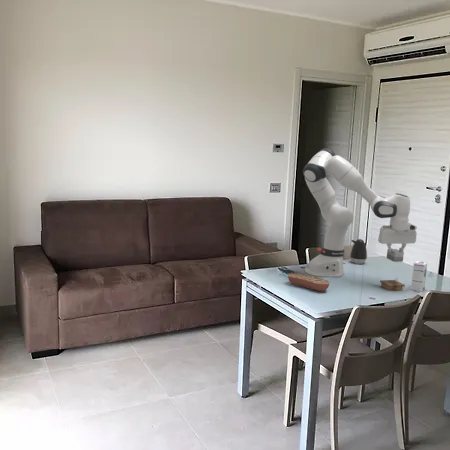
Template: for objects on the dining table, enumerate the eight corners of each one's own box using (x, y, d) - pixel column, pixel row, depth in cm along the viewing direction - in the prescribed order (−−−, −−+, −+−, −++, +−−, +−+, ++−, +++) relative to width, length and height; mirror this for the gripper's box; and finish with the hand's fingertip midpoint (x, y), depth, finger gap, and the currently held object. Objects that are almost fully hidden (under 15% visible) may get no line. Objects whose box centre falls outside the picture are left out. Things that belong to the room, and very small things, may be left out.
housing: (394, 261, 255) (395, 252, 254) (386, 258, 261) (387, 248, 260) (402, 261, 256) (403, 252, 255) (394, 258, 263) (396, 248, 262)
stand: (388, 291, 256) (389, 285, 255) (379, 285, 264) (379, 280, 264) (404, 290, 258) (404, 284, 258) (394, 285, 267) (394, 279, 266)
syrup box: (422, 291, 258) (425, 264, 255) (410, 289, 261) (413, 262, 258) (424, 289, 263) (427, 262, 260) (412, 286, 266) (416, 260, 263)
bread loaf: (283, 284, 258) (284, 275, 258) (294, 280, 266) (294, 271, 265) (323, 295, 244) (323, 285, 243) (332, 290, 252) (333, 281, 251)
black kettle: (348, 260, 317) (350, 236, 315) (364, 261, 316) (367, 238, 314) (350, 264, 307) (352, 240, 305) (367, 265, 307) (370, 241, 304)
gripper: (384, 226, 250) (381, 253, 252) (419, 226, 255) (416, 253, 257) (377, 224, 256) (374, 250, 258) (412, 224, 261) (409, 250, 263)
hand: (395, 251), depth 258 cm, fingers closed on housing, 5 cm apart
